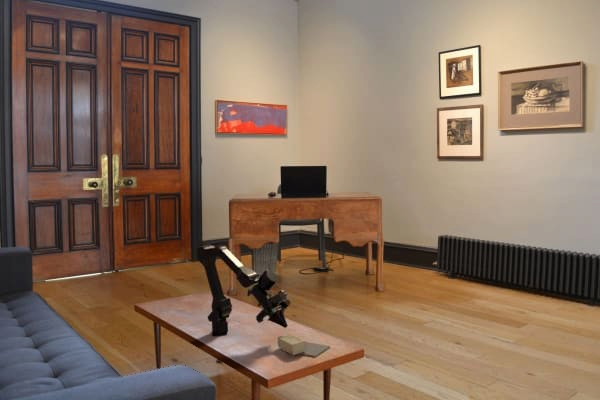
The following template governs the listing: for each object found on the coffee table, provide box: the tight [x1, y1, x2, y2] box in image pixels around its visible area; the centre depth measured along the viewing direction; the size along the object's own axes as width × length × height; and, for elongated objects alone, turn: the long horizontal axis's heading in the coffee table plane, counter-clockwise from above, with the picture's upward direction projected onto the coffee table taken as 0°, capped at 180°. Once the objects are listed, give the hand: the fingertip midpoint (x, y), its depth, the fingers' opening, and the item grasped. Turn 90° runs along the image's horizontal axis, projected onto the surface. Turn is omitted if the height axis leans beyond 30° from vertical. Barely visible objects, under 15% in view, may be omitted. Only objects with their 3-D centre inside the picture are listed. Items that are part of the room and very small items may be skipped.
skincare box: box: [276, 333, 307, 356], centre depth 215 cm, size 6×4×12 cm
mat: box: [284, 341, 331, 358], centre depth 217 cm, size 14×12×1 cm
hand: (286, 326), depth 221 cm, fingers closed
